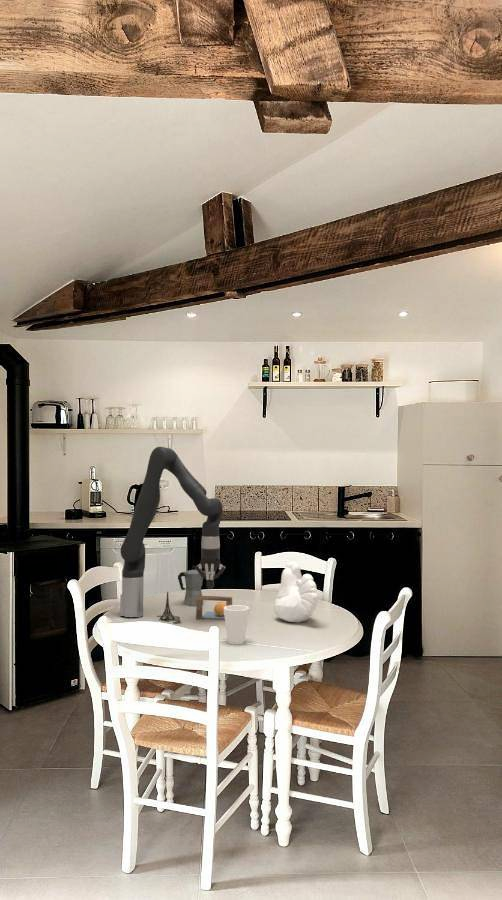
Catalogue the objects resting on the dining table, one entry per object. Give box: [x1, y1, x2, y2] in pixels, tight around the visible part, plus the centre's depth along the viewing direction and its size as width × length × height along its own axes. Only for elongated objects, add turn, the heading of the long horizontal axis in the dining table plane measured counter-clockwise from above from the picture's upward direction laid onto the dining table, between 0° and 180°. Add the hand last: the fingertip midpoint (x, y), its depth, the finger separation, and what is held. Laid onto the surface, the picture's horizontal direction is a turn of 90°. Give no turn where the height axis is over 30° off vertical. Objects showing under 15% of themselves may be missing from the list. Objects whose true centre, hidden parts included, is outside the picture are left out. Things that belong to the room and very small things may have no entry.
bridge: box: [195, 595, 233, 621], centre depth 306 cm, size 3×15×10 cm, turn 82°
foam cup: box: [224, 604, 250, 646], centre depth 271 cm, size 10×9×13 cm
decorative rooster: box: [273, 560, 319, 623], centre depth 303 cm, size 25×16×25 cm, turn 16°
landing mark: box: [202, 610, 225, 620], centre depth 314 cm, size 12×12×1 cm
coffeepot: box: [177, 565, 206, 607], centre depth 335 cm, size 15×9×18 cm, turn 129°
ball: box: [213, 601, 226, 616], centre depth 313 cm, size 6×6×6 cm
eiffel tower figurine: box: [156, 591, 182, 625], centre depth 305 cm, size 15×10×13 cm
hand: (210, 588), depth 297 cm, fingers closed
